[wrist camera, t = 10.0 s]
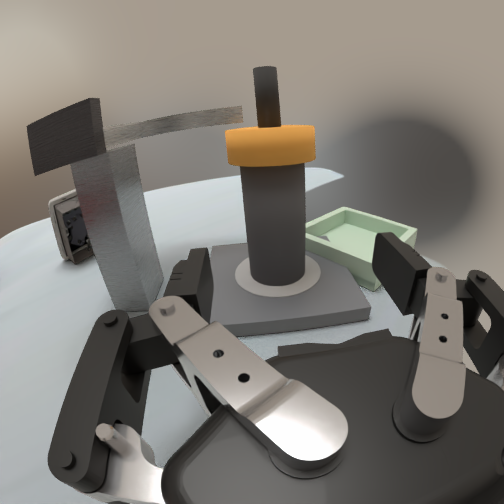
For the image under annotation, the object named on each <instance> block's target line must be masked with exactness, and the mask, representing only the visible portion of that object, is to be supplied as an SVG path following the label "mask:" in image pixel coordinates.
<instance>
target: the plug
mask: <svg viewBox="0 0 504 504" xmlns="http://www.w3.org/2000/svg"><path fill="white" fill-rule="evenodd" d="M253 75H254V85H255V97H256V108H257V120H258V127H247V128H238V129H232V130H226V131H225V135H226V145H227V155H228V163H229V164H231V165H235V166H240V171H241V182H242V192H243V203H244V213H245V223H246V233H247V243H248V253H249V263H250V273H251V276H252V278H253V279H254V280H255V281H257V282H258V283H260V284H263V285H267V286H286V285H290V284H293V283H295V282H297V281H299V280H300V279H301V278H302V277H303V276H304V274H305V246H306V217H305V216H306V214H305V166H304V163H305V162H310V161H313V160H315V158H316V156H315V130H314V126H310V125H281V118H280V105H279V93H278V81H277V70H276V67H271V66H264V67H257V68H254V69H253Z"/></svg>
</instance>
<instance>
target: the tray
mask: <svg viewBox="0 0 504 504" xmlns="http://www.w3.org/2000/svg"><path fill="white" fill-rule="evenodd" d="M383 232H392V233H394V234H395V235H396V236H397V237H398V238H399V239H400V240H401V241H403V242H405V243H407V244H408V245H410V246H411V247H412V248H413V249H414V246H415V240H416V234H417V229H415V228H412V227H409V226H406V225H403V224H400V223H397V222H394V221H391V220H388V219H384V218H381V217H378V216H374V215H371V214H368V213H364V212H361V211H357V210H354V209H350V208H347V207H342V208H339V209H337V210H335V211H333V212H331V213H328V214H326V215H324V216H321V217H319V218H317V219H315V220H312V221H310V222H308V223H306V246H305V250H307V251H310V252H312V253H315V254H317V255H319V256H322V257H324V258H326V259H329V260H331V261H334V262H336V263H338V264H341V265H343V266H345V267H347V268H348V270H349V271H350V273H351V274H352V276H353V278H354V279H355V281H356V282H357V284H358V285H360V286H363V287H365V288H367V289H369V290H371V291H373V292H374V291H375V290H376V289H377V288H378V287H379V286H380V285H381V283H380V281H379V280H378V278H377V277H376V276H375V274H374V272H373V269H372V258H373V251H374V243H375V237H376V234H377V233H383ZM317 236H327V238H328V239H329V241H330V242H329V241H326V240H324V239H321V238H318V237H317Z"/></svg>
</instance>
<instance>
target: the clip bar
mask: <svg viewBox="0 0 504 504" xmlns="http://www.w3.org/2000/svg"><path fill="white" fill-rule="evenodd" d="M241 122H243V115H242V107H241V106H237V107H227V108H218V109H210V110H203V111H196V112H190V113H184V114H178V115H173V116H167V117H162V118H157V119H153V120H148V121H144V122H138V123H128V124H120V125H112V126H106V127H103V125H102V117H101V108H100V100H99V98H88V99H86V100H83V101H80V102H78V103H75V104H73V105H71V106H68V107H66V108H63V109H61V110H59V111H57V112H54V113H52V114H50V115H48V116H46V117H44V118H42V119H40V120H38V121H36V122H34V123H32V124H30V125H28V126H27V133H28V139H29V147H30V153H31V159H32V164H33V169H34V174H35V176H37V175H39V174H42V173H45V172H47V171H50V170H53V169H56V168H59V167H62V166H65V165H68V164H71V163H74V162H77V161H81V160H84V159H87V158H91V157H94V156H98V155H101V154H103V153H106V152H107V151H106V148H108V147H111V146H115V145H118V144H121V143H124V142H128V141H132V140H135V139H139V138H143V137H148V136H153V135H157V134H163V133H168V132H174V131H179V130H185V129H192V128H198V127H206V126H213V125H221V124H231V123H241Z"/></svg>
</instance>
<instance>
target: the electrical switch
mask: <svg viewBox="0 0 504 504" xmlns="http://www.w3.org/2000/svg"><path fill="white" fill-rule="evenodd" d="M48 208H49V213H50V217H51V221H52V225H53V229H54V233H55V237H56V240H57V244H58V247H59V251H60V254H61V256H62V258H63V259H64V260H68V259H71V260H72V261H73V262H74V264H77V263H79V262H81V261H82V260H84V259H86V258H88V257H89V256H91V255H93V254H94V251H93V248H90V247H92V245H91V242H90V239H89V236H88V232H87V229H86V226H85V222H84V219H83V215H82V212H81V208H80V204H79V200H78V196H77V192H76V189H74V190H72V191H69V192H67V193H65V194H62V195H60V196H58V197H55V198H53V199H51V200H50V201H49V203H48ZM87 249H88V250H89V251H88V250H87Z"/></svg>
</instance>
